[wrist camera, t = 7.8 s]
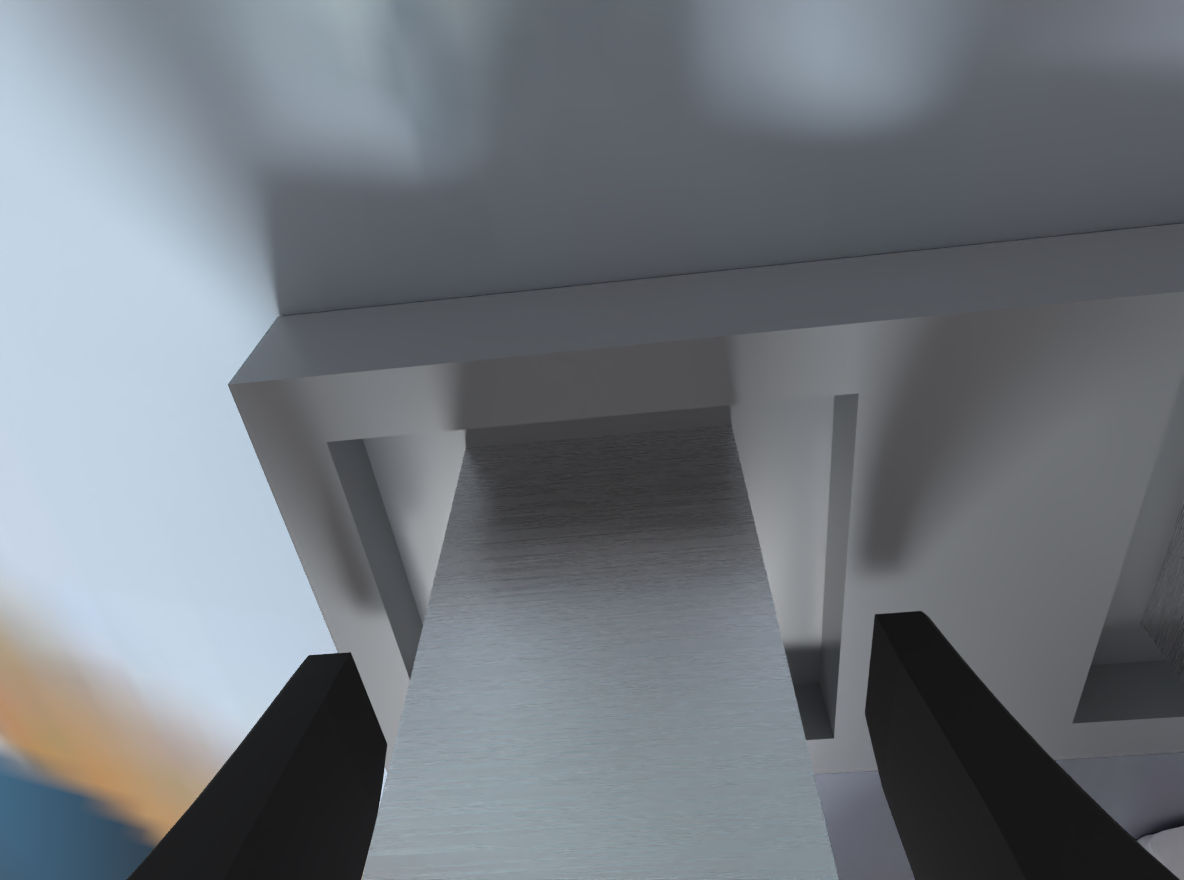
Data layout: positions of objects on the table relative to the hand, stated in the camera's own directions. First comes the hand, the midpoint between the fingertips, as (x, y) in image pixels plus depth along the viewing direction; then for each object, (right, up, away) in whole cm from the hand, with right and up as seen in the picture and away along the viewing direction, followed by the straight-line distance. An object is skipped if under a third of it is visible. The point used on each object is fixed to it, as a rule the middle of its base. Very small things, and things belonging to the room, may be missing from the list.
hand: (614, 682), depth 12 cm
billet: (0, +1, +2) cm, 3 cm away
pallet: (+5, +2, +2) cm, 6 cm away
